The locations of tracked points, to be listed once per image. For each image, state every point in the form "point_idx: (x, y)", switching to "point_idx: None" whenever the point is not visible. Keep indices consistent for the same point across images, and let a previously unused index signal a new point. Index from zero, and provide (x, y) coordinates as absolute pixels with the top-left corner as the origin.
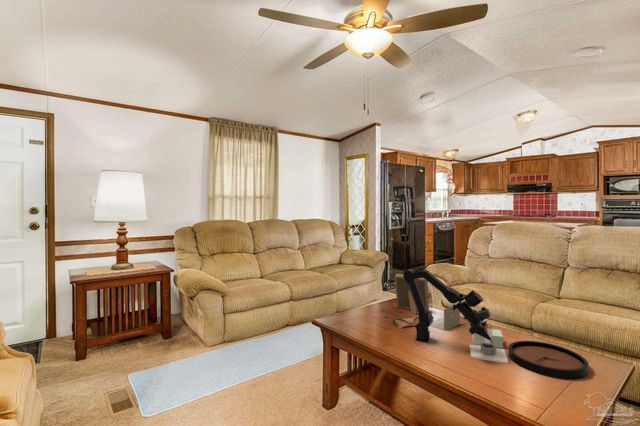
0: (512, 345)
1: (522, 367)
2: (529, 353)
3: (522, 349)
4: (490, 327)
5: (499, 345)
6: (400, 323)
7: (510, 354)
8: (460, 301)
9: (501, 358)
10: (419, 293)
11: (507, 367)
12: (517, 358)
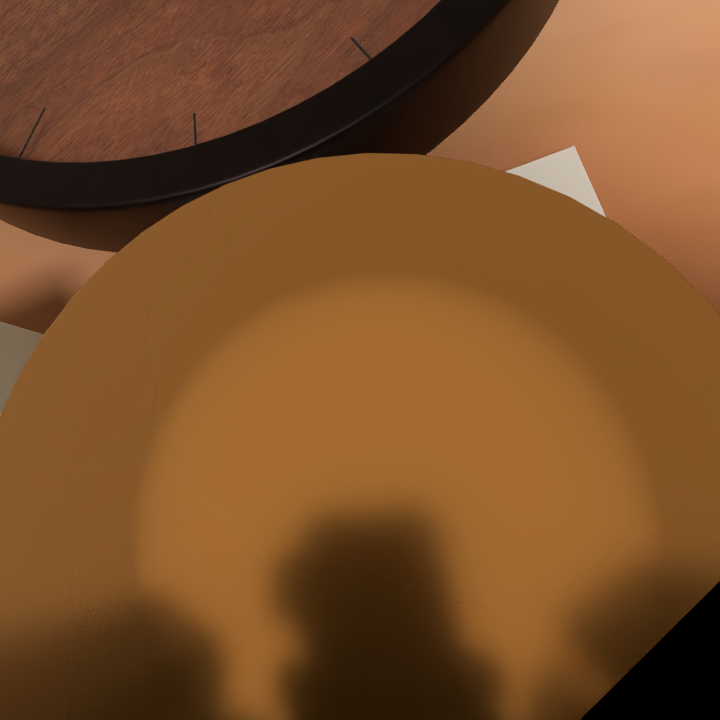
0: (87, 163)
1: (553, 8)
2: (128, 13)
3: (46, 106)
4: (610, 281)
5: None
6: None
7: (374, 145)
8: None
9: None
10: None
11: (707, 140)
12: (517, 4)
